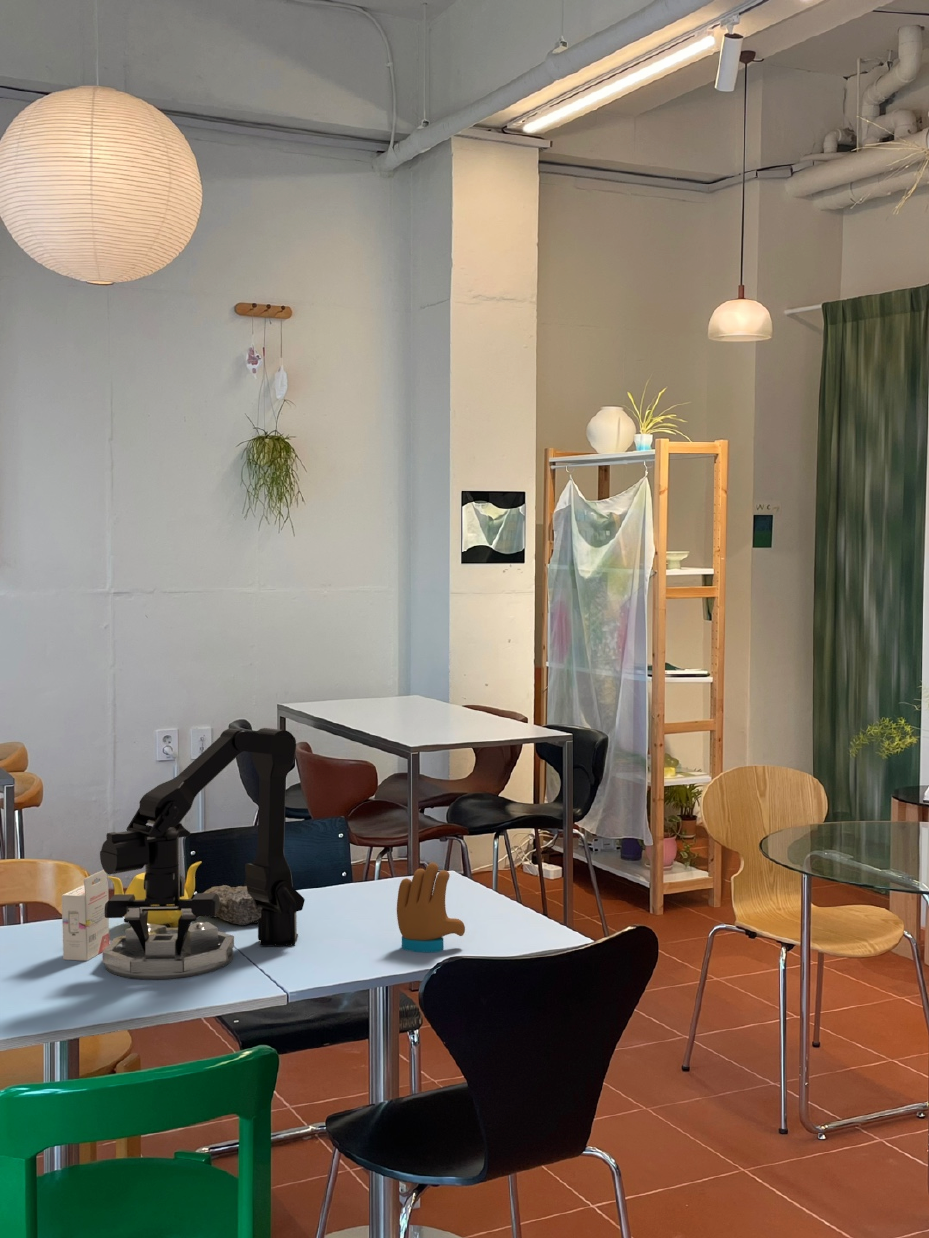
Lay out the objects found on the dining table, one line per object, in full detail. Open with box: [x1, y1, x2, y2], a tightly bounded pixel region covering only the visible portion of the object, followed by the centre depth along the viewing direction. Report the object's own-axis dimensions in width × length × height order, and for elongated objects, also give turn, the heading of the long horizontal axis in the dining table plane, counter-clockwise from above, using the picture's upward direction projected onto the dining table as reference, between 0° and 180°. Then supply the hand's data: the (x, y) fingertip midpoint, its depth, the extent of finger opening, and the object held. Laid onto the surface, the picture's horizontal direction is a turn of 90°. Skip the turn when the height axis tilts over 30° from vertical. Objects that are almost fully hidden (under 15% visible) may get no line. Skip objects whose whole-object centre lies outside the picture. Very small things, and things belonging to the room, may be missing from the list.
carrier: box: [101, 921, 235, 981], centre depth 222 cm, size 22×22×6 cm
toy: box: [396, 862, 466, 953], centre depth 229 cm, size 12×7×15 cm, turn 70°
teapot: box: [107, 861, 202, 928], centre depth 245 cm, size 20×15×12 cm
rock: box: [203, 884, 262, 926], centre depth 251 cm, size 13×6×15 cm
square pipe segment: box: [145, 934, 181, 959], centre depth 216 cm, size 5×5×4 cm
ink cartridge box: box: [61, 869, 110, 962], centre depth 226 cm, size 9×5×15 cm, turn 168°
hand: (163, 954), depth 216 cm, fingers closed on square pipe segment, 5 cm apart
